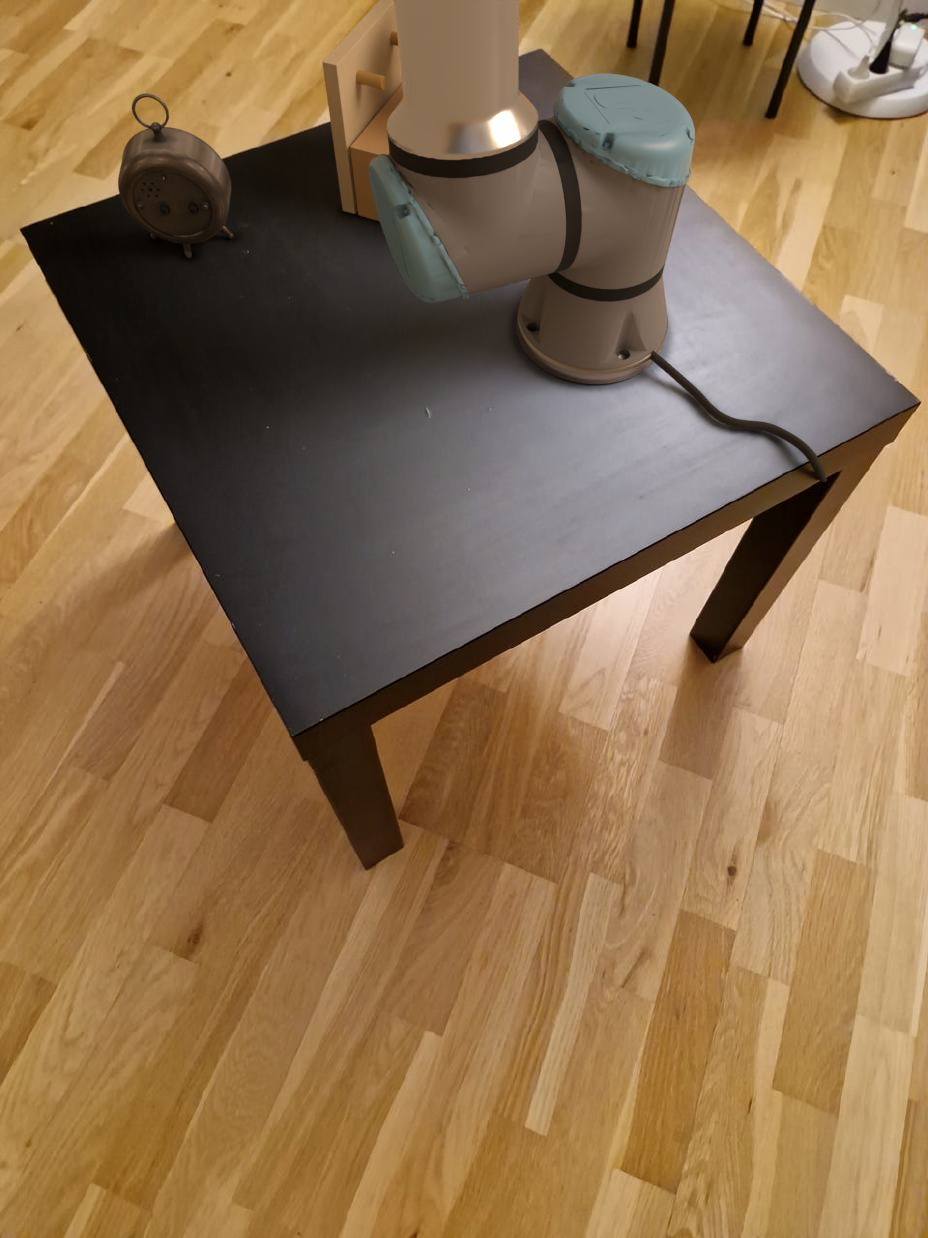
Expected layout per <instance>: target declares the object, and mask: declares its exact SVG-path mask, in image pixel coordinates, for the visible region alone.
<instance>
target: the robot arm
mask: <svg viewBox="0 0 928 1238" xmlns="http://www.w3.org/2000/svg"><path fill="white" fill-rule="evenodd" d="M519 5H520V0H394V7H395V17H396V27H397V37H398V47H399V57H400V67H401V77H402V87H403V99H402V101H401V102H400V103H399V104H398V106H397V107H396V108H395V110H394V111H393V112H392V113H391V115H390V116H389V118H388V120H387V135H388V143H389V154H385V153H383V154H379V155H378V157H376V158H374V159H373V160H371V162H370V164H369V172H370V173H369V181H370V187H371V191H372V196H373V200H374V204H375V207H376V211H377V214H378V217H379V220H380V221H379V224H380V227H381V230H382V232H383V235H384V238H385V240H386V244H387V246H388V248H389V251H390V254H391V256H392V259H393V261H394V263H395V266H396V268H397V270H398V273H399V274H400V276H401V278H402V280H403V282H404V283H405V285H406V287H407V288H408V290H409V291H410V292H411V293H412V294H413V295H414V297H415V298H417V299H418V300H420V301H422V302H425V303H430V304H432V303H439V302H444V301H448V300H453V299H459V298H462V299H464V300H465V299H470V296H472V295H476V294H479V293H483V292H487V291H491V290H494V289H498V288H501V287H502V288H503V287H506V286H509V285H514V284H517V283H521V282H525V281H529V282H528V284H527V286H526V288H525V290H524V292H523V294H522V295H521V298H520V300H519V303H518V307H517V315H516V316H517V318H516V335H517V339H518V342H519V344H520V346H521V348H522V350H523V351H524V353H525V355H526V356H528V358H529V359H530V360H531V361H532V362H533V363H534V364H535V365H537V366H538V367H539V368H541V369H542V370H544V371H546V372H547V373H549V374H551V375H553V376H556V377H558V378H560V379H564V380H566V381H570V382H575V383H580V384H587V385H605V384H613V383H617V382H621V381H626V380H628V379H631V378H634V377H635V376H637V375H639V374H641V373H643V372H644V371H646V370H647V369H648V368H650V366H652V364H655V365H656V366H657V367H659V368H660V369H661V370H662V371H663V372H665V373H666V374H667V375H668V376H669V377H670V378H671V379H673V380H674V382H676V383H677V384H678V385H679V386H681V387H682V388H683V389H684V390H685V391H686V392H687V393H688V394H690V396H691V397H693V398H694V400H696V401H697V402H698V404H699V405H700V406H701V407H702V409H704V411H706V413H708V414H709V415H710V416H711V417H712V418H713V419H715V420H717V421H718V422H720V423H721V424H723V425H725V426H729V427H730V428H731V427H732V428H736V429H742V430H752V431H761V432H766V433H769V434H772V435H774V436H775V437H778V438H780V439H781V440H783V441H785V442H787V443H789V444H790V445H792V447H795V448H796V449H797V450H798V451H800V452H801V454H802V455H803V456H804V457H805V458H806V459H807V461H808V462H809V464H810V466H811V468H812V469H813V472H814V474H815V477H816V479H817V480H818V481H819V482H822V483H826V482H827V481H828V477H827V473H826V472H825V469H824V466H823V465H822V462H821V461H820V458H819V457H818V455H817V454H816V452H815V451H814V450H813V449H812V447H810V445H808V444H807V443H806V442H805V441H804V440H802V439H801V438H800V437H798V436H797V435H795V434H793V432H790V431H789V430H787V429H785V428H783V427H780V426H779V425H776V424H773V423H771V422H767V421H760V420H751V419H750V420H749V419H740V418H736V417H733V416H730V415H727V414H726V413H724V412H722V411H721V410H720V409H718V408H717V407H716V406H714V404H712V402H711V401H710V400H709V399H708V398H707V396H705V395H704V393H703V392H701V390H700V389H698V388H697V386H695V385H694V384H693V383H692V382H691V381H690V380H688V378H686V377H685V376H684V375H683V374H682V373H680V372H679V371H678V370H677V369H676V368H675V367H674V366H673V365H672V364H670V362H668V361H667V360H666V359H664V357H663V356H661V355H660V354H661V352H662V349H663V347H664V344H665V341H666V336H667V333H668V329H669V315H668V308H667V301H666V299H667V298H666V292H665V284H664V283H665V282H664V275H663V274H664V271H665V266H666V262H667V258H668V254H669V250H670V246H671V242H672V239H673V235H674V232H675V231H674V230H675V227H676V222H677V219H678V215H679V211H680V206H681V203H682V200H683V196H684V192H685V188H686V185H687V183H688V182H689V180H690V176H691V173H692V171H691V168H692V167H691V166H692V161H693V154H694V149H695V148H694V147H695V143H696V129H695V125H694V121H693V119H692V116H691V115H690V113H689V112H688V110H687V108H686V107H685V106H684V104H682V103H681V102H680V101H679V100H678V99H677V98H676V97H675V96H673V94H671V93H670V92H668V91H667V90H665V89H663V88H661V86H660V87H659V86H657V85H655V84H653V83H651V82H648V81H645V80H644V79H640V78H637V77H634V76H630V75H624V74H618V73H617V74H616V73H608V72H607V73H606V72H603V73H601V72H600V73H590V74H584V75H580V76H577V77H575V78H573V79H571V80H570V81H568V82H567V83H566V84H565V85H564V87H561V89H560V90H559V92H558V93H557V94H558V95H557V97H556V99H555V100H554V104H553V107H552V109H553V116H551V117H548V118H544V119H540V120H539V113H538V110H537V108H536V107H535V105H534V104H533V103H532V102H531V101H530V100H529V98H528V97H526V96H525V95H524V93H522V91H520V87H519V84H520V83H519V82H520V79H519V78H520V77H519V76H520V74H519V73H520V71H519V70H520V69H519V68H520V66H519V65H520V64H519V63H520V62H519V61H520V59H519V58H520V57H519V52H520V51H519V50H520V49H519V48H520V47H519V46H520V44H519V43H520V37H519V36H520V35H519V34H520V32H519V31H520V26H519V25H520V22H519V21H520V11H519V10H520V6H519ZM527 98H528V99H527Z"/></svg>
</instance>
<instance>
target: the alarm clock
mask: <svg viewBox="0 0 928 1238" xmlns="http://www.w3.org/2000/svg"><path fill="white" fill-rule="evenodd" d="M144 98H150V99H153V100H155V101H157V102H158V103H159V105H160V106H162V108H163V109H164V111H165V120H164V122H163V123H162V124H161V123H159V122H158V121H154V122H152V123H151V124H150V125H149V124H146V123H145V122H144V121H142V120H141V119H140V117H139V116H138V114H137V112H136V111H137V110H136V107H137V104H138V102H139V101H140V100H141V99H144ZM131 112H132V114H133V116H134V118H135V120H136V121H137V122H138V123H139V124H140V125H141V126H143V127H144V128H145V129H143V130H141V131H139V132H137V133H135V134H134V135H133V136H131V138H130V139H129V140H128V141H127V143H126V145H125V147H124V149H123V151H122V156H121V161H120V162H121V163H120V168H119V172H118V178H117V186H118V193H119V197H120V200H121V202H122V204H123V206H124V208H125V209H126V211H127V212H128V214H129V215H130V217H131V218H132V219H133V220H134V221H135V222H136V223H137V224H138V225H139V226H140V227H142V228H143V229H144V230H146V231H147V232H148V233H150V237H151V239H152V240H156V239H157V238H160V239H162V240H165V241H168V242H171V243H177V244H181V245H182V248H183V251H184V255H185V256H186V258H192V250H191V249H192V248H191V245H192V244H199V243H202V242H205V241H208V240H210V239H212V238H213V237H214V236H216V235H217V234H218V233H219V232H220V233H223V234H225V235H226V236H227V238H228V239H230V240H232V239H233V238H234V234H233V233H232V232H230V230H229V229H228V227H227V226H225V225H226V222H227V220H228V216H229V211H230V203H231V197H232V196H231V195H232V180H231V175H230V172H229V169H228V168H227V166H226V164H225V162H224V160H223V159H222V157H221V156H220V154H218V152H217V151H216V150H215V149H214V148H213V147H212V146H211V145H210V144H209V143H207V142H206V141H205V140H203V139H201V138H200V137H198V136H196V135H195V134H193V133H191V132H189V131H186V130H183V129H181V128H176V127H172V126H171V127H170V126H167V124H168V122H169V119H170V112H169V108H168V106H167V104H166V103H165V102H164V101H163V100H162V99H161V98H160V97H159V96H157V95H155V94H152V93H140V94H138V95H137V96H135V98H134V99H133V101H132V102H131Z"/></svg>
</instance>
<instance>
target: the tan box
mask: <svg viewBox="0 0 928 1238" xmlns="http://www.w3.org/2000/svg"><path fill="white" fill-rule="evenodd" d="M321 63H322V70H323V76H324V77H323V78H324V85H325V92H326V100H327V106H328V113H329V121H330V127H331V128H330V129H331V133H332V134H331V135H332V143H333V150H334V157H335V164H336V172H337V179H338V186H339V193H340V200H341V208H342V211H343V212H346V213H350V214H353V215H356V214H357V215H358V216H360V217H364V218H367V219H370V220H374V221H378V222H380V220H379V217H378V214H377V211H376V207H375V204H374V200H373V196H372V191H371V187H370V181H369V173H370V172H369V164H370V162H371V160H373V159H374V158H376V157H378V155H379V154H383V153H385V154H389V143H388V135H387V120H388V118H389V116H390V115H391V113H392V112H393V111H394V110H395V108H396V107H397V106H398V104H399V103H400V102H401V101H402V99H403V87H402V77H401V67H400V57H399V47H398V37H397V27H396V17H395V7H394V0H378V1H377V2H376V3H375V5H374V6H373V7H371V9H369V11H368V12H367V13H366V14H365V15H364V16H363V18H361V19H360V20H359V22H357V24H356V25H355V26H354V27H353V28H352V29H351V30H350V31H349V32H348V34H346V36H345V37H344V38H343V39H342V40H341V41H340V42H339V43H337V45H336V46H335V47H334V49H332V51H330V52H329V54H328V55H327V56H326V57H325V58H324V59H323V61H322V62H321ZM526 98H527V99H528V100H529V98H528V97H526Z"/></svg>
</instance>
